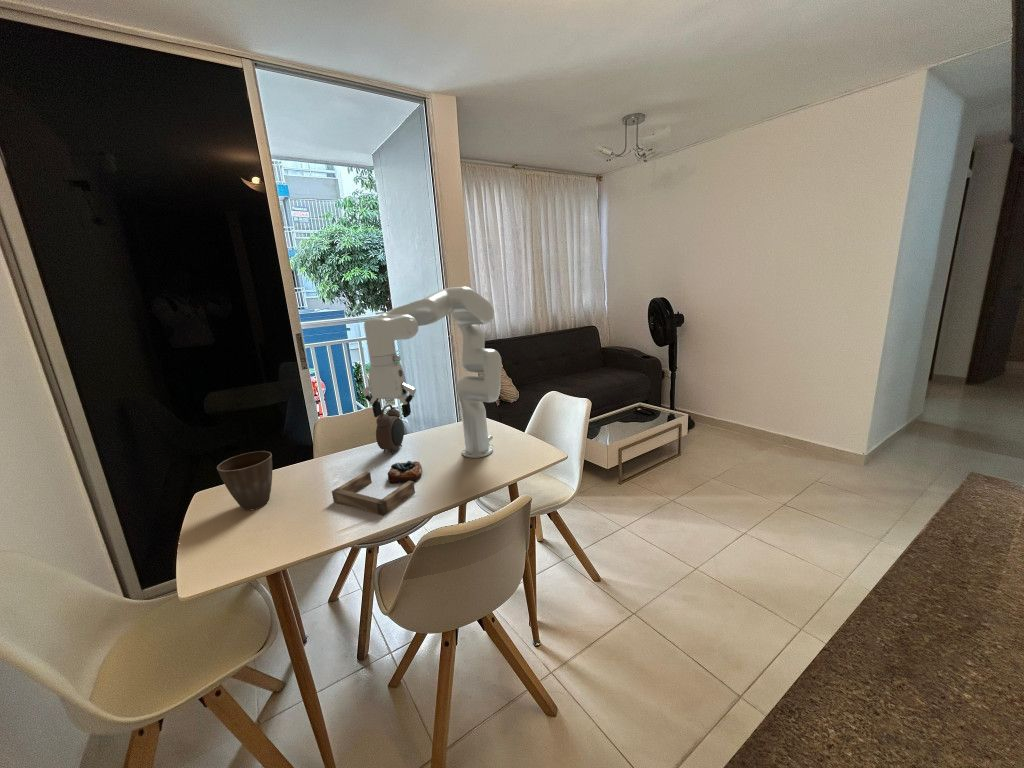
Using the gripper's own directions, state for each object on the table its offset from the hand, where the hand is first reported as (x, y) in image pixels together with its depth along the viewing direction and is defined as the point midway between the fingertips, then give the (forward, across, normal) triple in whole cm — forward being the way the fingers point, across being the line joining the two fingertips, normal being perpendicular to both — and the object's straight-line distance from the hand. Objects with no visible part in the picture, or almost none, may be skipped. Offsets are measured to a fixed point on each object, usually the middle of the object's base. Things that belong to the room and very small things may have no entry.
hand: (392, 415), depth 118 cm
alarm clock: (+29, +26, -38) cm, 54 cm away
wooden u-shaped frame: (+29, +12, -1) cm, 31 cm away
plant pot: (+29, +51, +8) cm, 59 cm away
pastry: (+30, +8, -16) cm, 35 cm away
